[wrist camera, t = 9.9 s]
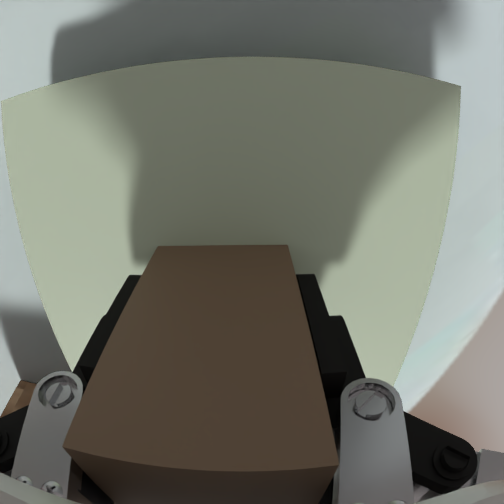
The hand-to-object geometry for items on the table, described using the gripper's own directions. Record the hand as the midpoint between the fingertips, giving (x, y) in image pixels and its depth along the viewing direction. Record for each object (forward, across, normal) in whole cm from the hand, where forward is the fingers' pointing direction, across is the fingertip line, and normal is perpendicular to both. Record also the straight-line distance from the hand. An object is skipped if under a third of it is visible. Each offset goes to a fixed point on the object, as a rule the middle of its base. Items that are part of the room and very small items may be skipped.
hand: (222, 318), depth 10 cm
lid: (+2, 0, 0) cm, 2 cm away
